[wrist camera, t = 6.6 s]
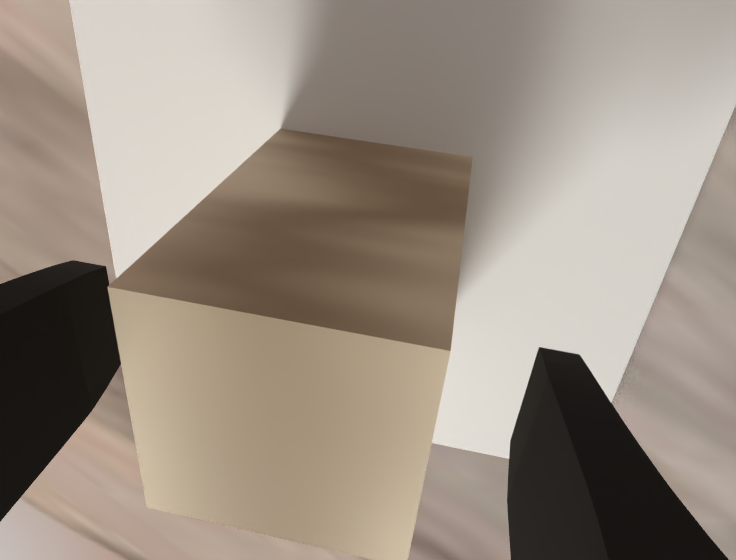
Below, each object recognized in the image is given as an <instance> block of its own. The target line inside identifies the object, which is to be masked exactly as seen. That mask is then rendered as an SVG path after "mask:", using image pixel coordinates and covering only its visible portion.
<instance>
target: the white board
mask: <svg viewBox="0 0 736 560" xmlns="http://www.w3.org/2000/svg"><path fill="white" fill-rule="evenodd" d="M69 2H70V8H71V14H72V20H73V26H74V32H75V38H76V44H77V50H78V56H79V62H80V68H81V73H82V79H83V85H84V91H85V97H86V103H87V109H88V115H89V121H90V127H91V133H92V139H93V145H94V150H95V156H96V162H97V168H98V174H99V180H100V186H101V192H102V198H103V204H104V210H105V216H106V222H107V227H108V233H109V239H110V245H111V251H112V257H113V263H114V269H115V275H116V279H117V278H118V277H119V276H120V275H121V274H122V273H123V272H124V271H125V270H126V269H127V268H129V267H130V266H131V265H132V264H133V263H134V262H135V261H136V260H137V259H138V258H140V257H141V256H142V255H143V254H144V253H145V252H146V251H147V250H148V249H149V248H150V247H152V246H153V245H154V244H155V243H156V242H157V241H158V240H159V239H160V238H161V237H162V236H164V235H165V234H166V233H167V232H168V231H169V230H170V229H171V228H172V227H173V226H174V225H176V224H177V223H178V222H179V221H180V220H181V219H182V218H183V217H184V216H185V215H187V214H188V213H189V212H190V211H191V210H192V209H193V208H194V207H195V206H196V205H197V204H199V203H200V202H201V201H202V200H203V199H204V198H205V197H206V196H207V195H208V194H209V193H211V192H212V191H213V190H214V189H215V188H216V187H217V186H218V185H219V184H220V183H221V182H223V181H224V180H225V179H226V178H227V177H228V176H229V175H230V174H231V173H232V172H233V171H235V170H236V169H237V168H238V167H239V166H240V165H241V164H242V163H243V162H244V161H246V160H247V159H248V158H249V157H250V156H251V155H252V154H253V153H254V152H255V151H256V150H258V149H259V148H260V147H261V146H262V145H263V144H264V143H265V142H266V141H267V140H268V139H270V138H271V137H272V136H273V135H274V134H275V133H276V132H277V131H278V130H279V129H286V130H293V131H300V132H307V133H313V134H320V135H327V136H334V137H340V138H347V139H354V140H361V141H368V142H374V143H381V144H388V145H395V146H401V147H408V148H415V149H422V150H429V151H435V152H442V153H449V154H456V155H462V156H469V157H473V159H472V167H471V176H470V185H469V194H468V203H467V211H466V220H465V229H464V238H463V247H462V255H461V264H460V273H459V282H458V291H457V299H456V308H455V317H454V326H453V335H452V343H451V352H450V357H449V361H448V366H447V371H446V376H445V381H444V386H443V391H442V395H441V400H440V405H439V410H438V415H437V420H436V424H435V429H434V434H433V439H432V443H435V444H440V445H445V446H450V447H455V448H459V449H464V450H469V451H474V452H479V453H484V454H489V455H493V456H498V457H503V458H508V459H509V454H510V440H511V437H512V434H513V430H514V427H515V424H516V420H517V417H518V414H519V411H520V407H521V404H522V401H523V398H524V394H525V391H526V388H527V385H528V381H529V378H530V375H531V371H532V368H533V365H534V362H535V358H536V355H537V352H538V349H539V347H542V348H547V349H553V350H558V351H564V352H569V353H574V354H580V356H581V357H582V359H583V360H584V362H585V363H586V365H587V366H588V368H589V369H590V371H591V372H592V374H593V375H594V377H595V379H596V380H597V382H598V383H599V385H600V386H601V388H602V389H603V391H604V393H605V394H606V396H607V397H608V399H609V400H610V402H612V400H613V398H614V395H615V393H616V390H617V388H618V386H619V383H620V381H621V378H622V376H623V374H624V371H625V369H626V366H627V364H628V362H629V359H630V357H631V354H632V352H633V350H634V347H635V345H636V342H637V340H638V338H639V335H640V333H641V330H642V328H643V326H644V323H645V321H646V319H647V316H648V314H649V311H650V309H651V307H652V304H653V302H654V299H655V297H656V295H657V292H658V290H659V287H660V285H661V283H662V280H663V278H664V275H665V273H666V271H667V268H668V266H669V263H670V261H671V259H672V256H673V254H674V251H675V249H676V247H677V244H678V242H679V239H680V237H681V235H682V232H683V230H684V227H685V225H686V223H687V220H688V218H689V215H690V213H691V211H692V208H693V206H694V203H695V201H696V199H697V196H698V194H699V191H700V189H701V187H702V184H703V182H704V179H705V177H706V175H707V172H708V170H709V168H710V165H711V163H712V160H713V158H714V156H715V153H716V151H717V148H718V146H719V144H720V141H721V139H722V136H723V134H724V132H725V129H726V127H727V124H728V122H729V120H730V117H731V115H732V112H733V110H734V108H735V105H736V0H69Z"/></svg>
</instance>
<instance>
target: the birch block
mask: <svg viewBox="0 0 736 560" xmlns="http://www.w3.org/2000/svg"><path fill="white" fill-rule="evenodd" d="M472 159H473V157H469V156H462V155H456V154H449V153H442V152H435V151H429V150H422V149H415V148H408V147H401V146H395V145H388V144H381V143H374V142H368V141H361V140H354V139H347V138H340V137H334V136H327V135H320V134H313V133H307V132H300V131H293V130H286V129H279V130H278V131H277V132H276V133H275V134H274V135H273V136H272V137H271V138H270V139H268V140H267V141H266V142H265V143H264V144H263V145H262V146H261V147H260V148H259V149H258V150H256V151H255V152H254V153H253V154H252V155H251V156H250V157H249V158H248V159H247V160H246V161H244V162H243V163H242V164H241V165H240V166H239V167H238V168H237V169H236V170H235V171H233V172H232V173H231V174H230V175H229V176H228V177H227V178H226V179H225V180H224V181H223V182H221V183H220V184H219V185H218V186H217V187H216V188H215V189H214V190H213V191H212V192H211V193H209V194H208V195H207V196H206V197H205V198H204V199H203V200H202V201H201V202H200V203H199V204H197V205H196V206H195V207H194V208H193V209H192V210H191V211H190V212H189V213H188V214H187V215H185V216H184V217H183V218H182V219H181V220H180V221H179V222H178V223H177V224H176V225H174V226H173V227H172V228H171V229H170V230H169V231H168V232H167V233H166V234H165V235H164V236H162V237H161V238H160V239H159V240H158V241H157V242H156V243H155V244H154V245H153V246H152V247H150V248H149V249H148V250H147V251H146V252H145V253H144V254H143V255H142V256H141V257H140V258H138V259H137V260H136V261H135V262H134V263H133V264H132V265H131V266H130V267H129V268H127V269H126V270H125V271H124V272H123V273H122V274H121V275H120V276H119V277H118V278H117V279H115V280H114V281H113V282H112V283H111V284H110V285H109V286H108V287H107V288H108V293H109V299H110V304H111V310H112V315H113V321H114V327H115V332H116V338H117V343H118V349H119V354H120V360H121V366H122V371H123V377H124V382H125V388H126V394H127V399H128V405H129V410H130V416H131V421H132V427H133V433H134V438H135V444H136V449H137V455H138V460H139V466H140V472H141V477H142V483H143V488H144V494H145V500H146V505H147V507H148V508H152V509H156V510H161V511H165V512H169V513H174V514H178V515H182V516H187V517H191V518H195V519H199V520H204V521H208V522H212V523H217V524H221V525H225V526H230V527H234V528H238V529H243V530H247V531H251V532H255V533H260V534H264V535H268V536H273V537H277V538H281V539H286V540H290V541H294V542H298V543H303V544H307V545H311V546H316V547H320V548H324V549H329V550H333V551H337V552H342V553H346V554H350V555H354V556H359V557H363V558H367V559H372V560H408V555H409V551H410V546H411V541H412V536H413V531H414V526H415V521H416V517H417V512H418V507H419V502H420V497H421V492H422V488H423V483H424V478H425V473H426V468H427V463H428V458H429V454H430V449H431V444H432V439H433V434H434V429H435V424H436V420H437V415H438V410H439V405H440V400H441V395H442V391H443V386H444V381H445V376H446V371H447V366H448V361H449V357H450V352H451V343H452V335H453V326H454V317H455V308H456V299H457V291H458V282H459V273H460V264H461V255H462V247H463V238H464V229H465V220H466V211H467V203H468V194H469V185H470V176H471V167H472Z"/></svg>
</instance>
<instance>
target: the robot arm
mask: <svg viewBox="0 0 736 560" xmlns="http://www.w3.org/2000/svg"><path fill="white" fill-rule="evenodd" d="M108 286H109V281H108V275H107V270H106V266H101V265H95V264H90V263H84V262H79V261H74V260H73V261H69V262H65V263H61V264H58V265H54V266H51V267H48V268H45V269H42V270H39V271H36V272H33V273H30V274H27V275H24V276H21V277H19V278H16V279H13V280H10V281H7V282H5V283H2V284H0V521H1V520H2V519H3V518H4V516H5V515H6V514H7V513H8V512H9V510H10V509H11V508H12V507H13V505H14V504H15V503H16V502H17V501H18V500H19V498H20V497H21V496H22V495H23V494H24V492H25V491H26V490H27V489H28V488H29V486H30V485H31V484H32V483H33V482H34V480H35V479H36V478H37V477H38V476H39V474H40V473H41V472H42V471H43V470H44V468H45V467H46V466H47V465H48V464H49V462H50V461H51V460H52V459H53V458H54V456H55V455H56V454H57V453H58V452H59V451H60V449H61V448H62V447H63V446H64V444H65V443H66V442H67V441H68V440H69V438H70V437H71V436H72V435H73V433H74V432H75V431H76V430H77V429H78V427H79V426H80V425H81V424H82V422H83V421H84V420H85V419H86V417H87V416H88V415H89V414H90V412H91V411H92V410H93V408H94V407H95V405H96V404H97V402H98V400H99V399H100V397H101V396H102V394H103V393H104V391H105V390H106V388H107V386H108V385H109V383H110V381H111V380H112V378H113V376H114V375H115V373H116V371H117V369H118V368H119V366H120V364H121V360H120V354H119V349H118V343H117V338H116V332H115V327H114V321H113V315H112V310H111V304H110V299H109V293H108V288H107V287H108ZM507 504H508V521H509V536H510V551H511V560H728V558H727V557H726V556H725V555H724V554H723V552H722V551H721V550H720V549H719V548H718V547H717V545H716V544H715V543H714V542H713V541H712V540H711V538H710V537H709V536H708V535H707V534H706V532H705V531H704V530H703V529H702V527H701V526H700V525H699V523H698V522H697V521H696V520H695V518H694V517H693V516H692V515H691V513H690V512H689V511H688V510H687V508H686V507H685V506H684V505H683V503H682V502H681V501H680V500H679V498H678V497H677V496H676V494H675V493H674V492H673V491H672V489H671V488H670V487H669V485H668V484H667V483H666V481H665V480H664V479H663V477H662V476H661V475H660V473H659V472H658V470H657V469H656V467H655V466H654V465H653V463H652V462H651V460H650V459H649V458H648V456H647V455H646V453H645V452H644V451H643V449H642V448H641V446H640V445H639V444H638V442H637V441H636V439H635V438H634V436H633V435H632V433H631V432H630V430H629V429H628V428H627V426H626V425H625V423H624V422H623V420H622V419H621V417H620V416H619V414H618V412H617V411H616V409H615V408H614V406H613V405H612V403H611V402H610V400H609V399H608V397H607V396H606V394H605V393H604V391H603V389H602V388H601V386H600V385H599V383H598V382H597V380H596V379H595V377H594V375H593V374H592V372H591V371H590V369H589V368H588V366H587V365H586V363H585V362H584V360H583V359H582V357H581V356H580V354H574V353H569V352H564V351H558V350H553V349H547V348H542V347H539V349H538V352H537V355H536V358H535V362H534V365H533V368H532V371H531V375H530V378H529V381H528V385H527V388H526V391H525V394H524V398H523V401H522V404H521V407H520V411H519V414H518V417H517V420H516V424H515V427H514V430H513V434H512V437H511V440H510V454H509V472H508V496H507Z"/></svg>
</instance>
